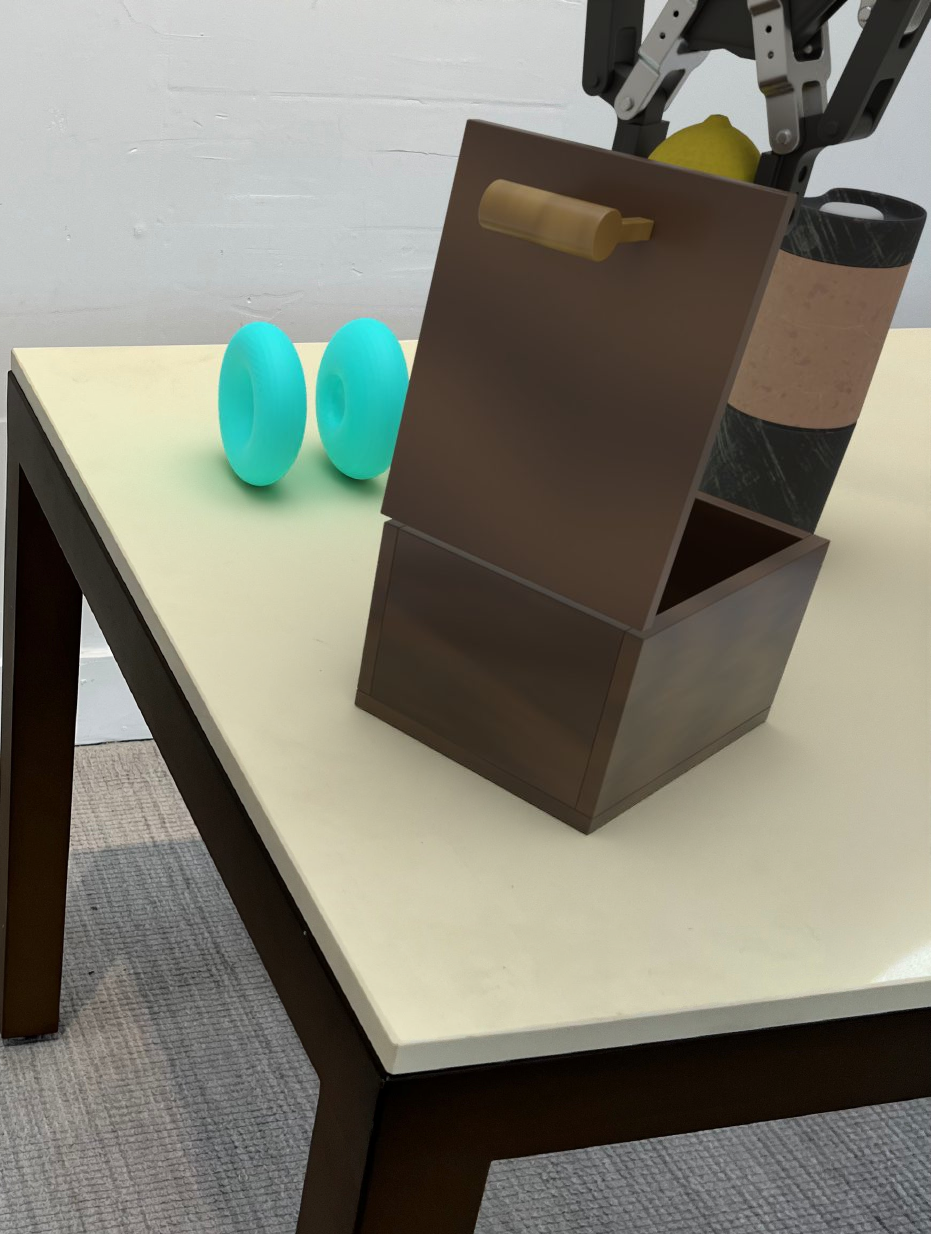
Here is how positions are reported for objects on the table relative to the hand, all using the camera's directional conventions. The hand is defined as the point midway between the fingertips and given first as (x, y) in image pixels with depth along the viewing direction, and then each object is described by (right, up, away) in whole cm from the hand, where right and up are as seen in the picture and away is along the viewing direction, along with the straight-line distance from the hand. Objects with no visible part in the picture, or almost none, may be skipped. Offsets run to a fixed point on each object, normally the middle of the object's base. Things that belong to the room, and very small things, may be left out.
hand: (689, 228), depth 63 cm
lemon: (0, -3, +2) cm, 4 cm away
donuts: (-12, -3, +34) cm, 36 cm away
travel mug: (+15, -8, +30) cm, 34 cm away
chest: (-2, -20, +11) cm, 23 cm away
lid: (-6, -7, -3) cm, 10 cm away
